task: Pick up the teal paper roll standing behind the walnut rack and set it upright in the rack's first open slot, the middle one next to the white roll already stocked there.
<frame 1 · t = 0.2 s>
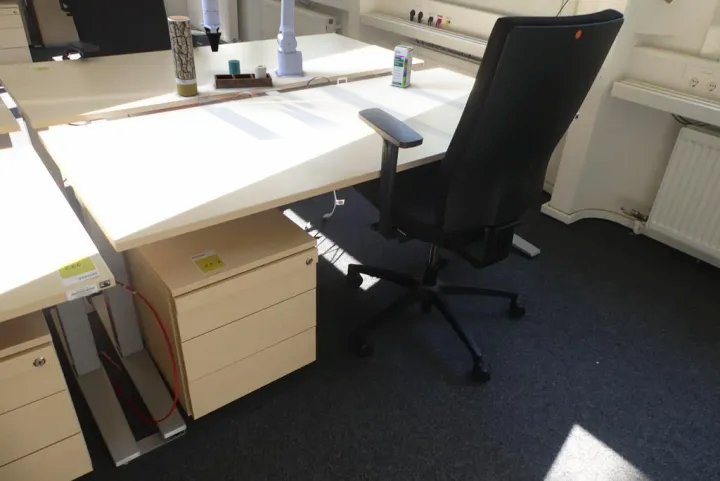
hand: (214, 49, 202), 10 cm above the table, tool pointing down, fingers open, 7 cm apart
stocked roll: (261, 83, 200), resting on rack
paper roll: (235, 78, 206), on the table
syrup box: (400, 85, 210), on the table
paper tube: (187, 94, 188), on the table
rack: (243, 85, 199), on the table
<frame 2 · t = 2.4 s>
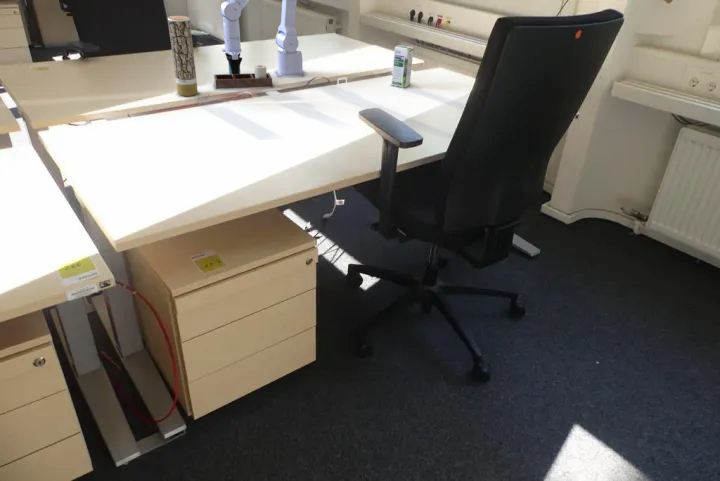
hand: (234, 74, 205), 2 cm above the table, tool pointing down, fingers closed on paper roll, 4 cm apart
paper roll: (235, 78, 206), on the table, touching gripper
everything else where it was.
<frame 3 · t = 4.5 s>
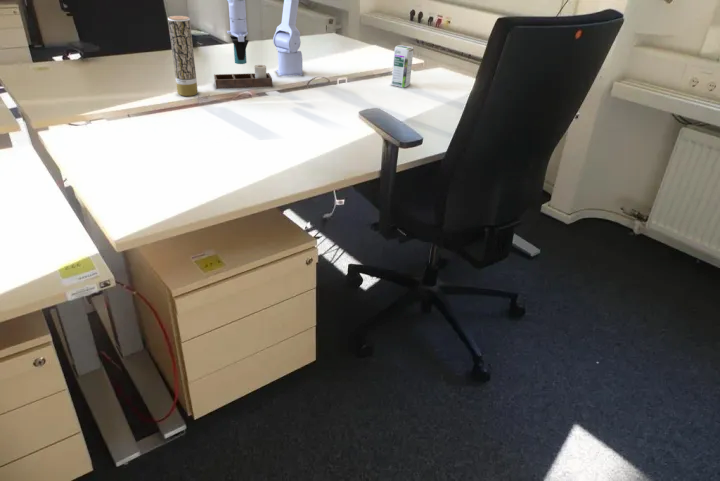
hand: (240, 58, 194), 10 cm above the table, tool pointing down, fingers closed on paper roll, 4 cm apart
paper roll: (240, 62, 195), point 8 cm above the table, touching gripper
everything else where it was.
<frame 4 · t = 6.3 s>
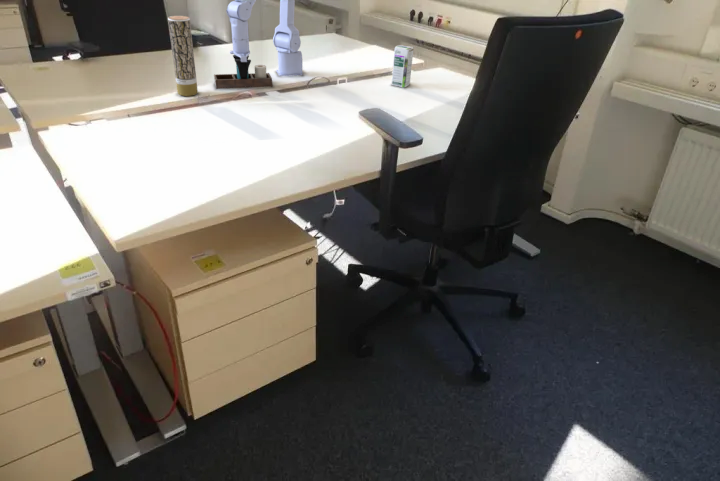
hand: (243, 77, 197), 3 cm above the table, tool pointing down, fingers closed on paper roll, 4 cm apart
paper roll: (243, 81, 198), point 2 cm above the table, touching gripper
everything else where it was.
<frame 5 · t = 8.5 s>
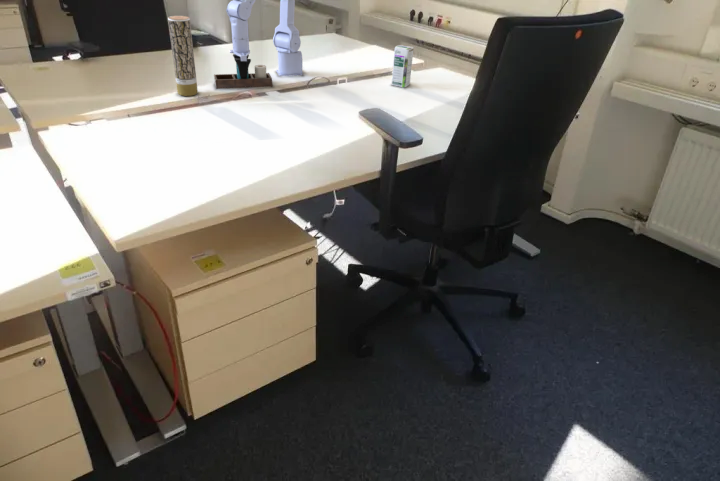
hand: (242, 76, 197), 4 cm above the table, tool pointing down, fingers closed on paper roll, 4 cm apart
paper roll: (243, 80, 198), point 2 cm above the table, touching gripper
everything else where it was.
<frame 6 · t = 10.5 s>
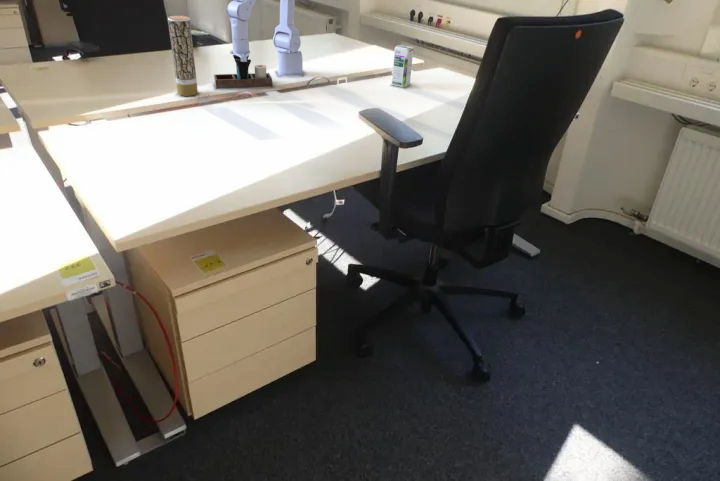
hand: (243, 76, 197), 3 cm above the table, tool pointing down, fingers closed on paper roll, 4 cm apart
paper roll: (243, 81, 198), point 2 cm above the table, touching gripper
everything else where it was.
when the fingers open (4 cm above the table, at t = 10.7 s): paper roll drops 2 cm, resting on rack.
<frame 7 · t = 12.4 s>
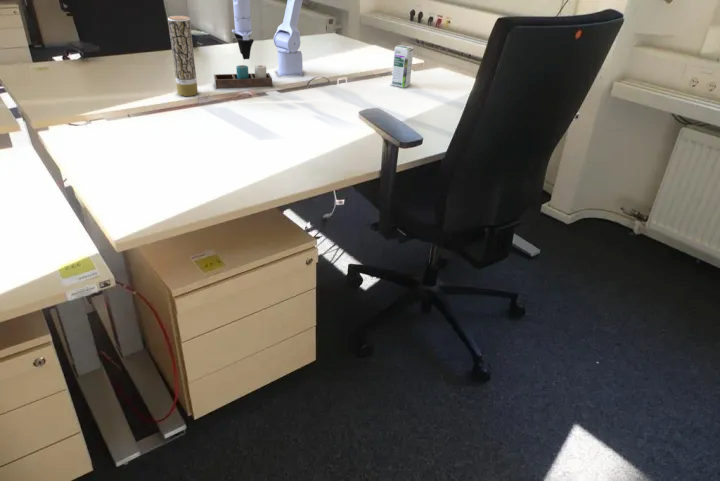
hand: (244, 56, 197), 10 cm above the table, tool pointing down, fingers open, 7 cm apart
paper roll: (243, 84, 198), resting on rack
everything else where it was.
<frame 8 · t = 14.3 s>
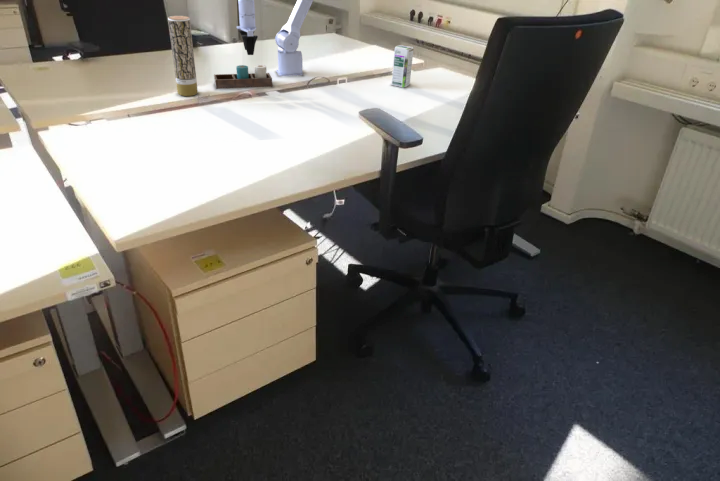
hand: (249, 52, 203), 9 cm above the table, tool pointing down, fingers open, 7 cm apart
nothing on the table moved.
at the end: paper roll 0.1 cm off-centre in the rack, point 0.5 cm above the rack's base; paper roll tilted 0°; stocked roll moved 0.0 cm from its start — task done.
